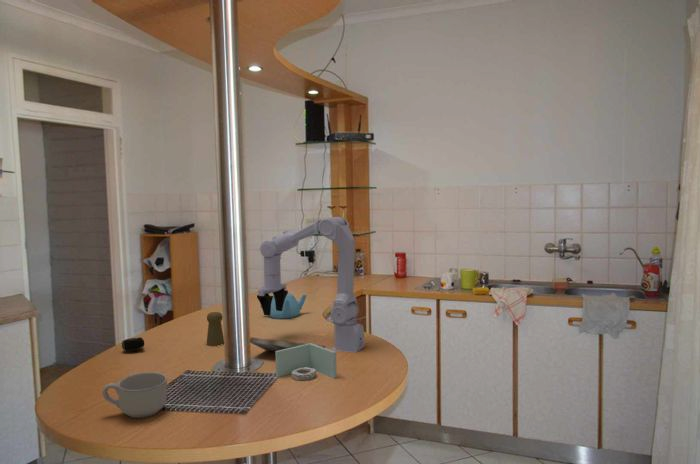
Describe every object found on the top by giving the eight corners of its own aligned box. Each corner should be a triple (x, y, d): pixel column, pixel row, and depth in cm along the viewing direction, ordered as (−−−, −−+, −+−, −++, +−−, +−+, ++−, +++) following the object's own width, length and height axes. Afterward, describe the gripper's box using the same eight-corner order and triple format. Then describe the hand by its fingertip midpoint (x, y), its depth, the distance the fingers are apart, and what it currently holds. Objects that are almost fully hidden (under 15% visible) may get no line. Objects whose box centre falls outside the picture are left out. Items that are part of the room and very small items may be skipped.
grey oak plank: (313, 356, 161) (314, 351, 162) (299, 348, 153) (300, 343, 153) (265, 350, 168) (266, 345, 169) (249, 342, 160) (250, 337, 161)
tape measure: (145, 349, 169) (143, 337, 169) (122, 353, 166) (121, 342, 166) (144, 346, 175) (143, 335, 175) (122, 350, 172) (121, 339, 172)
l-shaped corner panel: (276, 377, 143) (275, 351, 143) (311, 368, 151) (310, 343, 150) (300, 389, 134) (300, 361, 134) (336, 378, 142) (336, 351, 141)
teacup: (174, 403, 126) (173, 371, 125) (159, 422, 115) (157, 387, 114) (116, 404, 125) (115, 372, 125) (96, 424, 114) (94, 388, 114)
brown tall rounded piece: (226, 341, 180) (226, 310, 180) (220, 346, 174) (219, 314, 174) (210, 341, 181) (209, 310, 180) (203, 346, 175) (202, 314, 174)
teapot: (279, 310, 230) (278, 286, 230) (308, 313, 224) (307, 289, 223) (258, 318, 217) (257, 292, 216) (288, 321, 210) (287, 295, 209)
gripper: (274, 271, 189) (275, 307, 189) (250, 276, 175) (251, 316, 176) (290, 272, 185) (291, 309, 186) (267, 277, 172) (268, 317, 173)
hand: (273, 312), depth 181 cm, fingers open, 7 cm apart
